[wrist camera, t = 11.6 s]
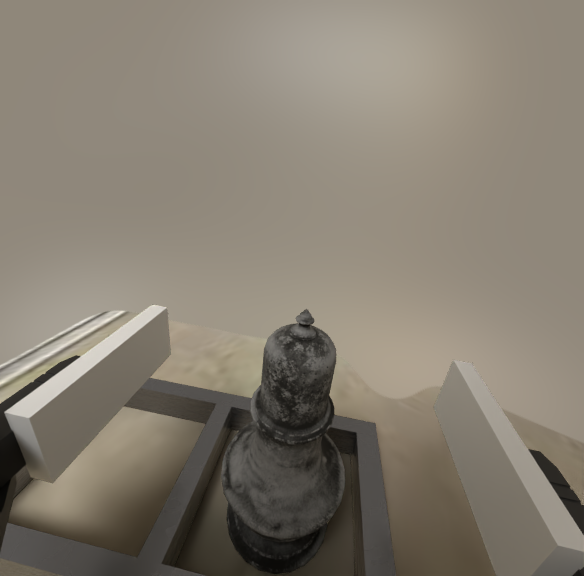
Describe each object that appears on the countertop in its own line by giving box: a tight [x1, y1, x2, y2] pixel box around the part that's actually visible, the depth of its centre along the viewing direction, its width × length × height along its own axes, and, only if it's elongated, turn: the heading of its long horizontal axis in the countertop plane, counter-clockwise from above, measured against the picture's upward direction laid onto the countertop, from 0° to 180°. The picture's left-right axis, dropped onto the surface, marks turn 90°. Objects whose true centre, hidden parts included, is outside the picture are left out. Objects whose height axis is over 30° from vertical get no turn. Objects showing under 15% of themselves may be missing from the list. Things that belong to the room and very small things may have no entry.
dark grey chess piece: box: [221, 309, 345, 574], centre depth 13 cm, size 6×6×12 cm
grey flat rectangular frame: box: [0, 378, 396, 576], centre depth 15 cm, size 20×10×2 cm, turn 82°
